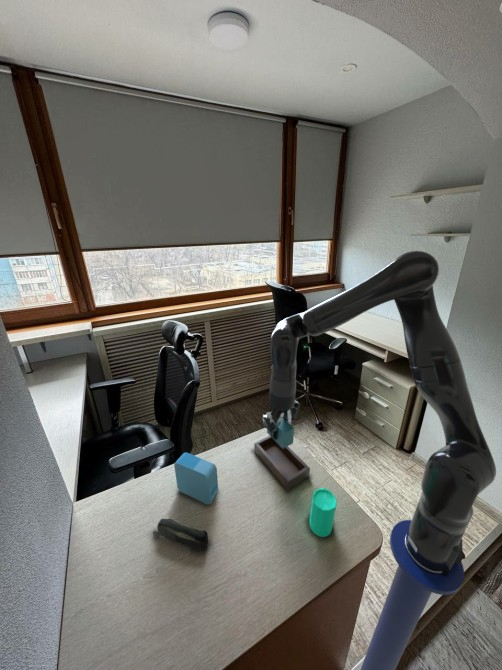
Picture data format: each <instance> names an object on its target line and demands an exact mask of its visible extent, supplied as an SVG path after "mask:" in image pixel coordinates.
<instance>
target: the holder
mask: <svg viewBox="0 0 502 670" xmlns="http://www.w3.org/2000/svg"><path fill="white" fill-rule="evenodd" d="M253 444H254V445H253V446H254V448H253V450H254V453H256V455H257V456H258V457H259V458H260V460H261V461H262V462H263V463H264V465H266V467H267V468H268V469H269V470H270V471H271V473H272V474H273V475H274V477H276V479H277V480H278V481H279V482H280V483H281V484H282V486H283V487H284V489H286V490H287V491H289V490H291V489H292V488H294V487H296V486H297V485H298V484H300V483H302V482H303V481H305V480H306V479H308V478H309V477H310V471H311V468H310V467H309V466H308V465H307V463H306V462H304V461H303V459H301V457H300V456H299V455H297V453H295V452H294V451H293V450H292V449H291V448H290V447H289V446H287V447H286V448H284V449H283V448H282V447H281V446H280V445H279V444H278V443H277V442H276V441H275V440H274V439H273V438H272V437H271V436H270V435H267V436H266V437H263V438H261V439H259V440H258V441H255V442H253Z"/></svg>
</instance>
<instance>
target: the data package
mask: <svg viewBox="0 0 502 670" xmlns="http://www.w3.org/2000/svg"><path fill="white" fill-rule="evenodd" d="M173 466H174V474H175V481H176V488H177V489H178V490H179V492H181V493H183V494H185V495H186V496H189V497H191V498H193V499H195V500H197V501H198V502H201V503H203V504H205V505H211V503H212V502H213V500H214V498H215V497H216V496H217V494H218V493H219V483H218V482H219V481H218V469H217V466H216V464H214V463H213V462H211V461H208V460H206V459H204V458H201V457H199V456H196V455H194V454H191V453H189V452H183V453H182V454H181V455H180V457H179V458H178V459H177V460H176V461H175V462H174V463H173Z"/></svg>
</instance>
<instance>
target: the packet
mask: <svg viewBox="0 0 502 670" xmlns="http://www.w3.org/2000/svg"><path fill="white" fill-rule="evenodd" d="M270 422H271V421H270ZM274 426H275V424H274ZM277 430H278V434H277V440H275V441H276V442H277V443H278V444H279V445H280V446H281V447H282V448H283V449H284V448H286V447H287V446H288V447H289V446H291V445H293V444H294V437H295V427H294V426H293V425H292V424H289V423H288V422H287V421H286V420H285V419H282V420H281V423H280V425H279V426H278V429H277ZM266 433H267V434H268V436H270V432H269V431H268V430H267V429H266Z"/></svg>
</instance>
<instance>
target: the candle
mask: <svg viewBox="0 0 502 670" xmlns="http://www.w3.org/2000/svg"><path fill="white" fill-rule="evenodd" d="M311 499H312V500H311V505H310V513H309V528H310V530H311V531H312V533H313V534H315V535H317V536H318V537H320V538H321V537H323V538H326V537H328V536H330V534H331V533H332V531H333V525H334V520H335V515H336V509H337V498H336V496H335V495H334V493H332V491H330V490H329V489H328V488H325V487H321V488H318V489H316V490H314V492H313V494H312V498H311Z"/></svg>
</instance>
